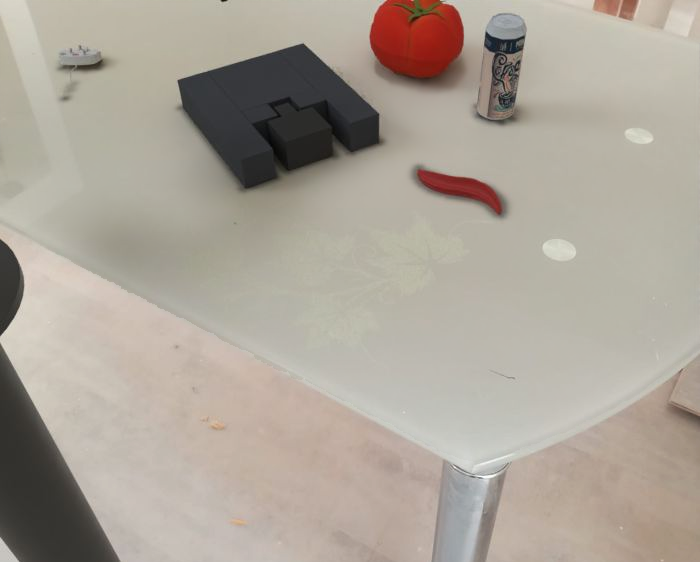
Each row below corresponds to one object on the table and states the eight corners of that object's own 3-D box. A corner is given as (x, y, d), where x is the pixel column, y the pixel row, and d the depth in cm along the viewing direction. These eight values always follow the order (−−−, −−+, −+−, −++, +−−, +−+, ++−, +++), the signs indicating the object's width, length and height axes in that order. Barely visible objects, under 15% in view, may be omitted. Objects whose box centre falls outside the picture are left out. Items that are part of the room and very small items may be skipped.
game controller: (101, 51, 111) (96, 33, 109) (107, 92, 104) (102, 74, 102) (61, 57, 110) (55, 39, 108) (64, 99, 103) (58, 81, 101)
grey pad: (245, 188, 89) (240, 159, 86) (182, 107, 101) (177, 79, 98) (379, 142, 95) (379, 113, 92) (305, 70, 106) (303, 42, 103)
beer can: (494, 127, 96) (506, 34, 87) (468, 111, 99) (477, 19, 90) (521, 114, 98) (536, 21, 89) (495, 98, 101) (507, 7, 92)
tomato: (486, 66, 106) (494, 2, 100) (425, 102, 101) (429, 37, 94) (412, 32, 113) (414, -29, 106) (351, 64, 107) (349, 1, 101)
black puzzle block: (288, 171, 91) (285, 142, 88) (262, 140, 96) (258, 111, 93) (333, 155, 93) (331, 126, 90) (305, 126, 98) (303, 97, 95)
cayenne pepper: (513, 206, 86) (515, 192, 85) (485, 224, 84) (486, 210, 83) (437, 159, 92) (438, 145, 91) (409, 174, 90) (409, 161, 89)
